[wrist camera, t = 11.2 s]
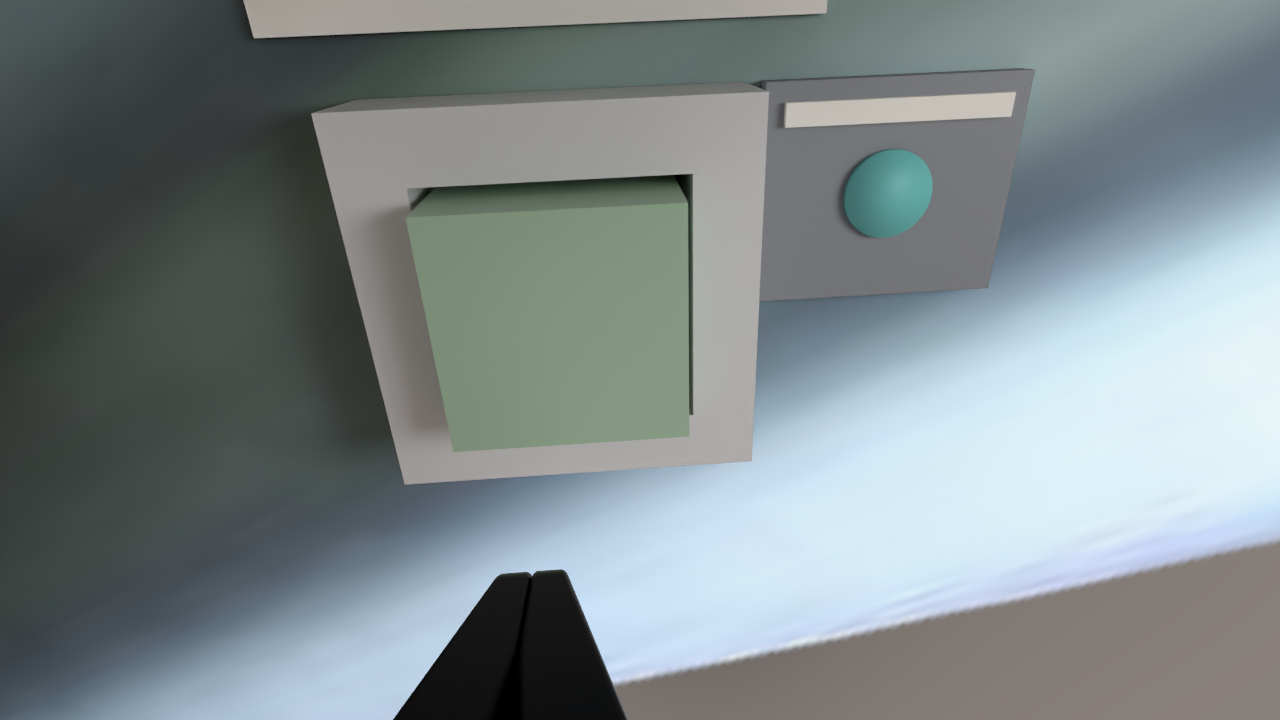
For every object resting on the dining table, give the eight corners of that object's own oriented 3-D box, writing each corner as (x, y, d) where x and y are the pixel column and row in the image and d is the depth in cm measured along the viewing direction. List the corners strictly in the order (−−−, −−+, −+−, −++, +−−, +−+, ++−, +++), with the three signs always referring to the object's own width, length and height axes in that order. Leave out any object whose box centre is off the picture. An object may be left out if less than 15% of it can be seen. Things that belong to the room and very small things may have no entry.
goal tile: (1021, 68, 17) (1040, 69, 17) (977, 281, 20) (991, 290, 19) (761, 80, 17) (768, 82, 16) (752, 294, 20) (757, 304, 19)
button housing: (742, 81, 17) (769, 91, 15) (732, 407, 22) (751, 461, 19) (356, 99, 17) (311, 113, 14) (428, 427, 21) (404, 484, 19)
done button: (669, 166, 18) (688, 202, 14) (673, 364, 20) (689, 436, 17) (444, 178, 17) (405, 217, 14) (478, 376, 20) (453, 452, 17)
